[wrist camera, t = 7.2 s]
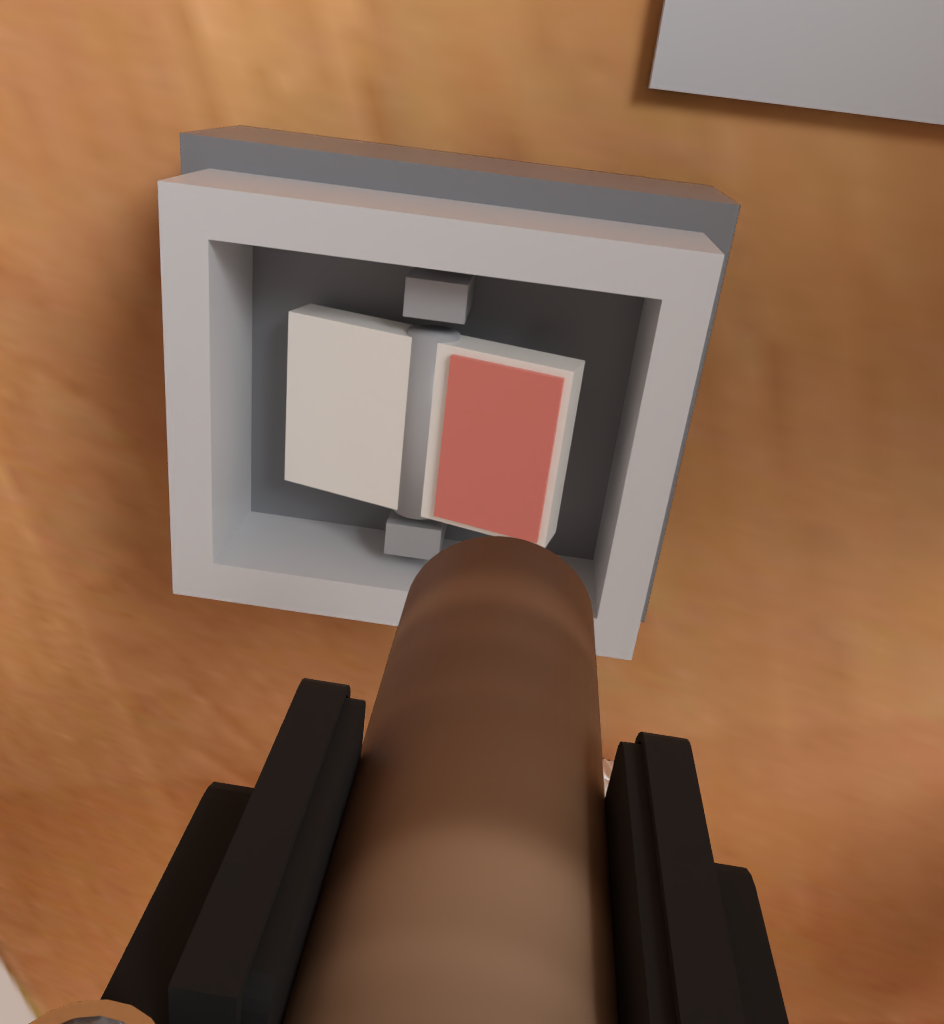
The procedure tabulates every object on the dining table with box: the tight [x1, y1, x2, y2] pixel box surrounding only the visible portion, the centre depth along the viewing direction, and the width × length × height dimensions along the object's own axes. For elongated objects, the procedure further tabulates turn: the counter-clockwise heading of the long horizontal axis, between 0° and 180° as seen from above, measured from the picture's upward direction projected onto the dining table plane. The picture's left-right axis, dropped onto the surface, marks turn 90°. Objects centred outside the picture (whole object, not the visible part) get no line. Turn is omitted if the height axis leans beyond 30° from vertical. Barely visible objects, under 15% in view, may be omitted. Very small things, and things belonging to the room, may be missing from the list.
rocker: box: [285, 304, 585, 548], centre depth 25 cm, size 5×8×2 cm, turn 83°
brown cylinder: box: [282, 536, 619, 1024], centre depth 9 cm, size 3×3×12 cm
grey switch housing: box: [158, 125, 741, 660], centre depth 27 cm, size 13×15×8 cm
